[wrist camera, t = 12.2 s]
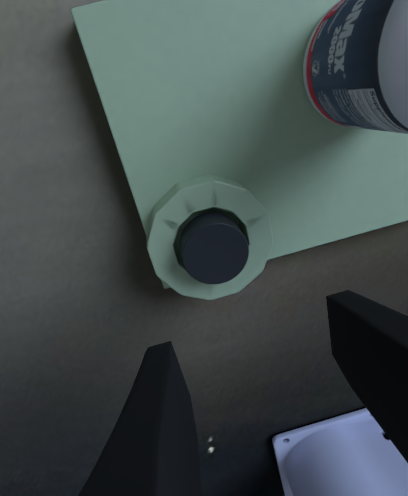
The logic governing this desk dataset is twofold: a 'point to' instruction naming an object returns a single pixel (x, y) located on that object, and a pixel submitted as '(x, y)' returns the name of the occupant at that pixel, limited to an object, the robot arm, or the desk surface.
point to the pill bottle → (360, 65)
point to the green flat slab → (233, 130)
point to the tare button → (213, 248)
